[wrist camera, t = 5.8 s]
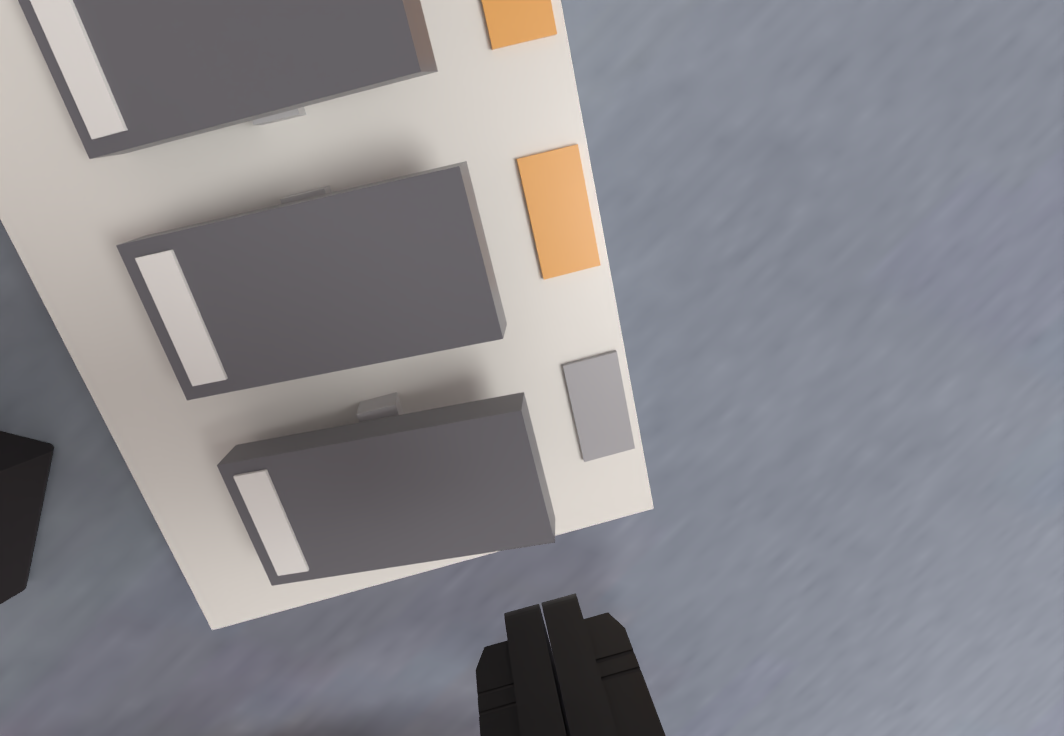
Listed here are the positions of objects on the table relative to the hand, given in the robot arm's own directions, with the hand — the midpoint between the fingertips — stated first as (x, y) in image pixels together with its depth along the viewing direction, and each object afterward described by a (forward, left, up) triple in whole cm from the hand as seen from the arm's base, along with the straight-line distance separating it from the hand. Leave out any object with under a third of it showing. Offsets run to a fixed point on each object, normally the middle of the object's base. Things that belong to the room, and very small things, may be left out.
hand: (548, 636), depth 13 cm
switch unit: (-7, -4, -12) cm, 14 cm away
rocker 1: (-13, -4, -8) cm, 16 cm away
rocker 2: (-7, -4, -8) cm, 11 cm away
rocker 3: (0, -3, -8) cm, 9 cm away
